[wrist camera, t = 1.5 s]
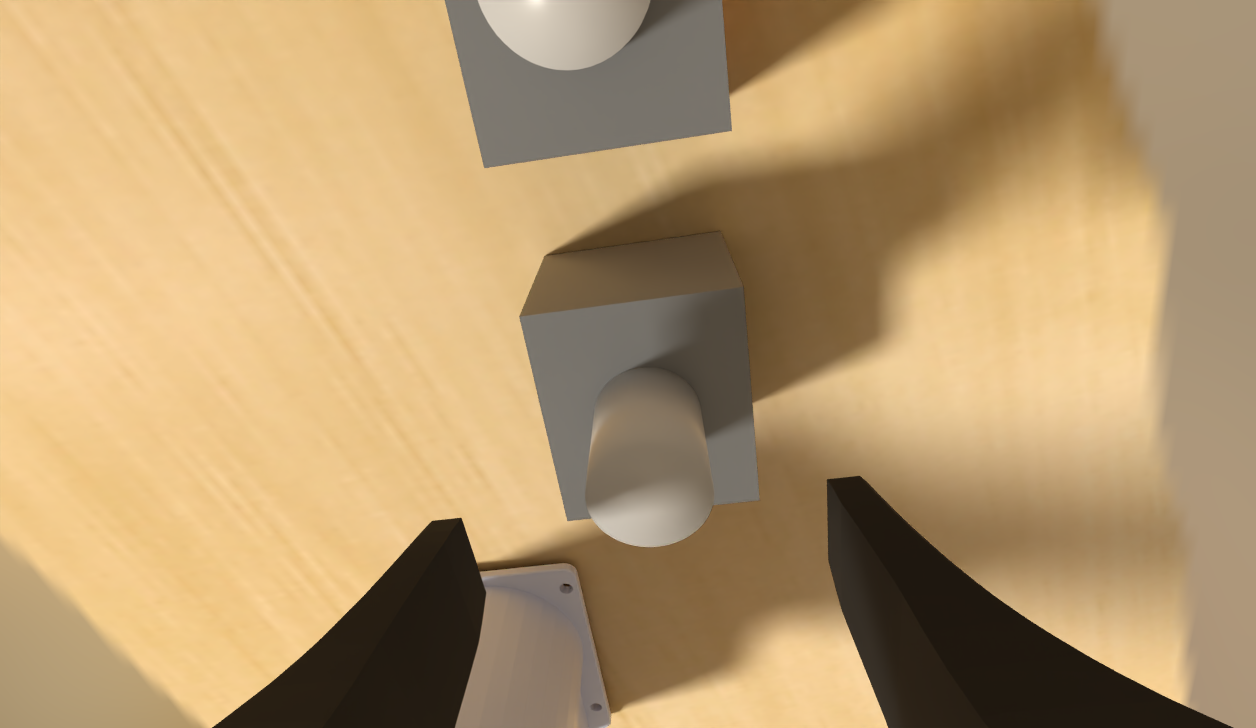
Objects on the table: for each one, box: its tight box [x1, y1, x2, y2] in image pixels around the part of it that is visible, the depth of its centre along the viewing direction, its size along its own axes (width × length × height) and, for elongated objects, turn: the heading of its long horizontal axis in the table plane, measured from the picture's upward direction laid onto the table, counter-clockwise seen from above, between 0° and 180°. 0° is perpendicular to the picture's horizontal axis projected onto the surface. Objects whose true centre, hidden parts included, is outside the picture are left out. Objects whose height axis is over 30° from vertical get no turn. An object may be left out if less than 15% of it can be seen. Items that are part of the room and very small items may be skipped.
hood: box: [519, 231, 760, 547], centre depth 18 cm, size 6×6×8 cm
